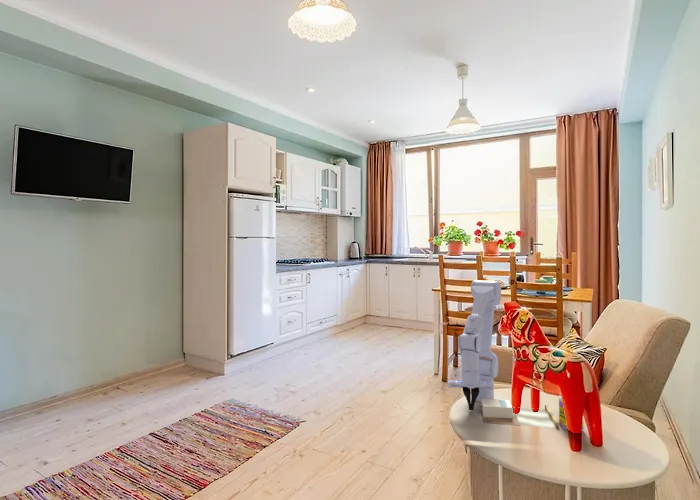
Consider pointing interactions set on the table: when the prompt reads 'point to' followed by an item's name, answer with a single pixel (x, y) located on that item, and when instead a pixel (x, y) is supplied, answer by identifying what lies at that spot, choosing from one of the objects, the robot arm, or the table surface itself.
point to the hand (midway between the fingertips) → (471, 409)
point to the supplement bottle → (563, 415)
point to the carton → (497, 408)
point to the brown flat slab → (526, 418)
